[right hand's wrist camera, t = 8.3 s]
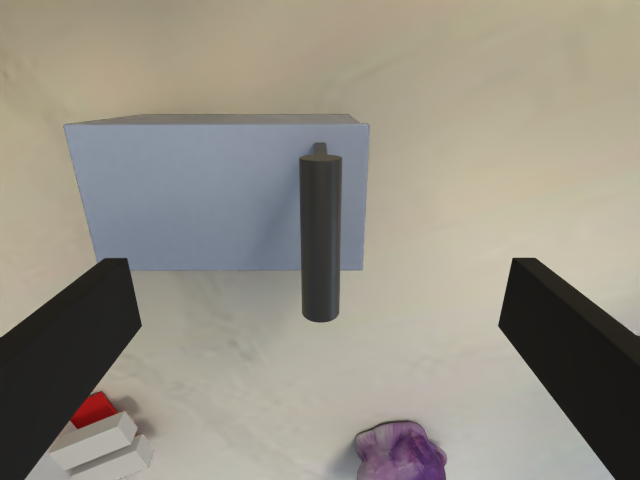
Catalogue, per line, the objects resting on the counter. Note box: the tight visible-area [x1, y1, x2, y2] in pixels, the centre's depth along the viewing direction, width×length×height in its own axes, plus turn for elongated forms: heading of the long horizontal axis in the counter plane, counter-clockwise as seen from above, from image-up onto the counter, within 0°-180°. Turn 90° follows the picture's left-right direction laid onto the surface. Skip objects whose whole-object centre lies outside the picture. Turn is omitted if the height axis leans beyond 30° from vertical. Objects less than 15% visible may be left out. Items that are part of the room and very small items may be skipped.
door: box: [63, 123, 370, 322], centre depth 20 cm, size 18×10×8 cm, turn 90°
